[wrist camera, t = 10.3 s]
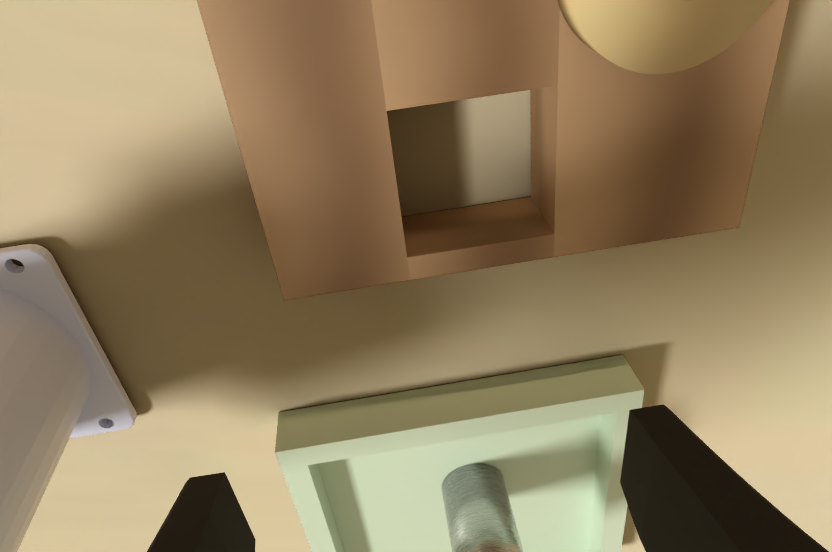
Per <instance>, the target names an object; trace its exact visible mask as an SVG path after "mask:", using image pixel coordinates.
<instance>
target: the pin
mask: <svg viewBox="0 0 832 552" xmlns="http://www.w3.org/2000/svg"><path fill="white" fill-rule="evenodd" d="M441 489H442V495H443V501H444V507H445V513H446V519H447V525H448V531H449V537H450V543H451V549H452V552H524V551H523V548H522V544H521V540H520V537H519V533H518V529H517V526H516V522H515V518H514V515H513V511H512V507H511V504H510V500H509V497H508V493H507V489H506V486H505V482H504V478H503V475H502V473H501V472H500V471H499V470H498V469H497V468H496V467H494V466H491V465H488V464H482V463H474V464H468V465H464V466H461V467H459V468H457V469H455V470H453V471H452V472H450V473H449V474H448V475H447V476H446V477H445V478H444V480H443V482H442V486H441Z"/></svg>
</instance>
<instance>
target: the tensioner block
mask: <svg viewBox="0 0 832 552" xmlns="http://www.w3.org/2000/svg"><path fill="white" fill-rule="evenodd" d="M789 1H790V0H197V3H198V7H199V10H200V13H201V17H202V20H203V24H204V27H205V31H206V34H207V37H208V41H209V44H210V48H211V51H212V55H213V58H214V61H215V65H216V68H217V72H218V75H219V79H220V82H221V85H222V89H223V92H224V96H225V99H226V103H227V106H228V109H229V113H230V116H231V120H232V123H233V127H234V130H235V133H236V137H237V140H238V144H239V147H240V151H241V154H242V158H243V161H244V164H245V168H246V171H247V175H248V178H249V182H250V185H251V188H252V192H253V195H254V199H255V202H256V206H257V209H258V212H259V216H260V219H261V223H262V226H263V230H264V233H265V236H266V240H267V243H268V247H269V250H270V254H271V257H272V260H273V264H274V267H275V271H276V274H277V278H278V281H279V285H280V288H281V291H282V295H283V298H284V300H288V299H295V298H301V297H307V296H313V295H320V294H326V293H332V292H338V291H345V290H351V289H357V288H363V287H370V286H376V285H382V284H388V283H395V282H401V281H407V280H413V279H420V278H426V277H432V276H438V275H445V274H451V273H457V272H463V271H470V270H476V269H482V268H488V267H495V266H501V265H507V264H513V263H519V262H526V261H532V260H538V259H544V258H551V257H557V256H563V255H569V254H576V253H582V252H588V251H594V250H601V249H607V248H613V247H619V246H626V245H632V244H638V243H644V242H651V241H657V240H663V239H669V238H676V237H682V236H688V235H694V234H701V233H707V232H713V231H719V230H726V229H732V228H738V227H739V225H740V221H741V216H742V212H743V207H744V203H745V198H746V194H747V189H748V185H749V180H750V176H751V171H752V167H753V162H754V158H755V154H756V149H757V145H758V140H759V136H760V131H761V127H762V122H763V118H764V113H765V109H766V104H767V100H768V95H769V91H770V86H771V82H772V77H773V73H774V68H775V64H776V59H777V55H778V50H779V46H780V41H781V37H782V32H783V28H784V23H785V19H786V15H787V10H788V6H789ZM524 90H531V197H527V198H520V199H514V200H507V201H501V202H495V203H488V204H482V205H475V206H469V207H463V208H456V209H450V210H443V211H437V212H430V213H424V214H418V215H411V216H405V217H401V210H400V203H399V196H398V189H397V182H396V174H395V167H394V160H393V153H392V146H391V139H390V132H389V124H388V117H387V111H390V110H396V109H403V108H410V107H416V106H423V105H430V104H437V103H443V102H450V101H457V100H463V99H470V98H477V97H484V96H490V95H497V94H504V93H511V92H517V91H524Z"/></svg>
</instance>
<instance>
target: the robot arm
mask: <svg viewBox="0 0 832 552" xmlns="http://www.w3.org/2000/svg"><path fill="white" fill-rule="evenodd" d="M11 259H16V260H18V261H20V262H21V263H22V264H23V265H24V267H22V266H18V265H15V264H14V263H13V262H12V261H11ZM136 417H137V414H136V411H135V409H134V407H133V405H132V403H131V402H130V400H129V398H128V396H127V394H126V392H125V390H124V388H123V387H122V385H121V383H120V381H119V379H118V377H117V375H116V374H115V372H114V370H113V368H112V366H111V364H110V362H109V360H108V359H107V357H106V355H105V353H104V351H103V349H102V347H101V345H100V344H99V342H98V340H97V338H96V336H95V334H94V332H93V331H92V329H91V327H90V325H89V323H88V321H87V319H86V317H85V316H84V314H83V312H82V310H81V308H80V306H79V304H78V303H77V301H76V299H75V297H74V295H73V293H72V291H71V289H70V288H69V286H68V284H67V282H66V280H65V278H64V276H63V274H62V273H61V271H60V269H59V267H58V265H57V263H56V261H55V260H54V258H53V256H52V254H51V253H50V252H49V251H48V250H47V249H46V248H44V247H43V246H40V245H37V244H25V245H18V246H12V247H5V248H0V552H17V550H18V548H19V546H20V544H21V542H22V540H23V537H24V535H25V533H26V531H27V529H28V526H29V524H30V522H31V520H32V518H33V516H34V513H35V511H36V509H37V507H38V505H39V503H40V500H41V498H42V496H43V494H44V492H45V490H46V487H47V485H48V483H49V481H50V479H51V477H52V474H53V472H54V470H55V468H56V466H57V463H58V461H59V459H60V457H61V455H62V453H63V450H64V448H65V446H66V444H67V442H68V440H69V439H70V438H76V437H82V436H88V435H94V434H100V433H106V432H112V431H118V430H124V429H128V428H130V427H132V426H133V425H134V422H135V419H136ZM104 418H108V419H110V420H107V419H104ZM620 484H621V487H622V490H623V493H624V496H625V498H626V501H627V504H628V507H629V510H630V513H631V516H632V518H633V521H634V524H635V527H636V529H637V532H638V535H639V537H640V540H641V542H642V544H643V546H644V548H645V550H646V552H829V551H827V550H826V549H825V548H824V547H822V546H821V545H820V544H819V543H817V542H816V541H815V540H814V539H812V538H811V537H810V536H809V535H808V534H806V533H805V532H804V531H803V530H801V529H800V528H799V527H798V526H797V525H796V524H794V523H793V522H792V521H791V520H790V519H788V518H787V517H786V516H785V515H784V514H782V513H781V512H780V511H779V510H778V509H777V508H776V507H774V506H773V505H772V504H771V503H770V502H769V501H768V500H767V499H765V498H764V497H763V496H762V495H761V494H760V493H759V492H757V491H756V490H755V489H754V488H753V487H752V486H751V485H749V484H748V483H747V482H746V481H745V480H744V479H743V478H742V477H741V476H739V475H738V474H737V473H736V472H735V471H734V470H733V469H732V468H731V467H730V466H728V465H727V464H726V463H725V462H724V461H723V460H722V459H721V458H720V457H719V456H718V455H717V454H716V453H715V452H713V451H712V450H711V449H710V448H709V447H708V446H707V445H706V444H705V443H704V442H703V441H702V440H701V439H700V438H699V437H698V436H697V435H696V434H695V433H693V432H692V431H691V430H690V429H689V428H688V427H687V426H686V425H685V424H684V423H683V422H682V421H681V420H680V419H679V418H678V417H677V416H676V415H675V414H674V413H673V412H672V411H671V410H670V409H669V408H667V407H666V406H665V405H658V406H651V407H645V408H638V409H632V410H630V411H629V418H628V426H627V433H626V441H625V448H624V455H623V463H622V470H621V478H620ZM147 552H255V538H254V536H253V533H252V531H251V529H250V527H249V525H248V522H247V520H246V518H245V516H244V514H243V511H242V509H241V507H240V505H239V503H238V501H237V498H236V496H235V494H234V492H233V490H232V487H231V485H230V483H229V481H228V479H227V476H226V474H225V472H224V473H218V474H211V475H205V476H198V477H192V478H189V480H188V481H187V482H186V483H185V485H184V487H183V489H182V490H181V492H180V494H179V496H178V498H177V499H176V501H175V503H174V505H173V507H172V508H171V510H170V512H169V514H168V516H167V517H166V519H165V521H164V523H163V525H162V526H161V528H160V530H159V532H158V533H157V535H156V537H155V539H154V540H153V542H152V544H151V545H150V547H149V549H148V551H147Z"/></svg>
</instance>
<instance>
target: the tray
mask: <svg viewBox="0 0 832 552" xmlns="http://www.w3.org/2000/svg"><path fill="white" fill-rule="evenodd" d="M643 397H644V388H643V386H642V385H641V383H640V381H639V380H638V378H637V377H636V375H635V373H634V372H633V370H632V368H631V367H630V365H629V364H628V362H627V360H626V359H625V357H624V355H619V356H613V357H607V358H601V359H595V360H589V361H583V362H577V363H571V364H565V365H559V366H553V367H547V368H541V369H535V370H529V371H523V372H517V373H511V374H505V375H499V376H493V377H487V378H481V379H475V380H469V381H463V382H457V383H451V384H446V385H440V386H434V387H428V388H422V389H416V390H410V391H404V392H398V393H392V394H386V395H380V396H374V397H368V398H362V399H356V400H350V401H344V402H338V403H332V404H326V405H320V406H314V407H308V408H302V409H296V410H290V411H284V412H279V415H278V425H277V436H276V447H275V454H276V457H277V459H278V462H279V465H280V467H281V470H282V473H283V476H284V478H285V481H286V484H287V486H288V489H289V492H290V495H291V497H292V500H293V503H294V506H295V508H296V511H297V514H298V516H299V519H300V522H301V525H302V527H303V530H304V533H305V535H306V538H307V541H308V544H309V546H310V549H311V552H452V549H451V543H450V537H449V531H448V525H447V519H446V513H445V507H444V501H443V495H442V489H441V486H442V482H443V480H444V478H445V477H446V476H447V475H448V474H449V473H450V472H452V471H453V470H455V469H457V468H459V467H461V466H464V465H468V464H474V463H482V464H488V465H491V466H494V467H496V468H497V469H498V470H499V471H500V472H501V473H502V475H503V478H504V482H505V486H506V489H507V493H508V497H509V500H510V504H511V507H512V511H513V515H514V518H515V522H516V526H517V529H518V533H519V537H520V540H521V544H522V548H523V551H524V552H621V547H622V540H623V533H624V526H625V520H626V513H627V506H628V504H627V501H626V498H625V496H624V493H623V490H622V487H621V484H620V478H621V470H622V463H623V455H624V448H625V441H626V433H627V426H628V418H629V411H630V410H632V409H638V408H642V404H643Z"/></svg>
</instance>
